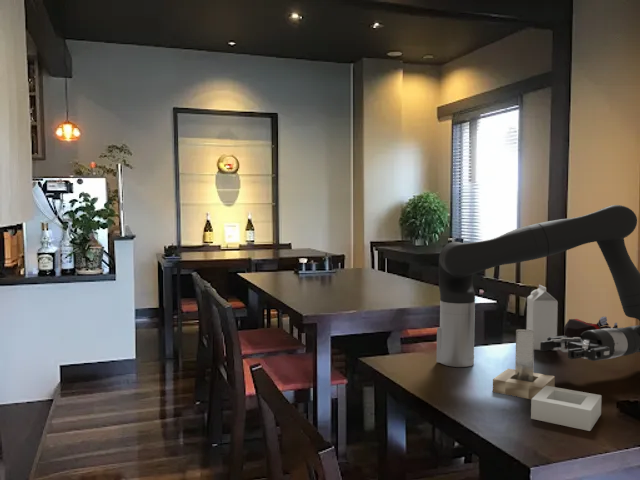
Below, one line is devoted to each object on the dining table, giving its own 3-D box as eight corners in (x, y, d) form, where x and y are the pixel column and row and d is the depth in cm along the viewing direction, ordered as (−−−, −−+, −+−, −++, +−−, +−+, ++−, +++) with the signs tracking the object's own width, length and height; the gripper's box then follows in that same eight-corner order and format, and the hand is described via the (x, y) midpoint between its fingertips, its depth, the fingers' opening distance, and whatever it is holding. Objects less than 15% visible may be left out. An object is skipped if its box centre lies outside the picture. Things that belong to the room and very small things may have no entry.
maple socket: (492, 391, 131) (492, 379, 131) (507, 380, 140) (508, 368, 140) (541, 401, 125) (542, 388, 125) (554, 388, 134) (554, 376, 134)
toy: (616, 307, 172) (562, 308, 177) (619, 332, 165) (563, 332, 171) (615, 332, 179) (564, 332, 185) (619, 357, 172) (565, 356, 178)
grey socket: (530, 418, 115) (531, 399, 114) (545, 403, 124) (545, 385, 123) (590, 431, 108) (590, 410, 108) (600, 414, 117) (601, 395, 117)
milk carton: (549, 345, 177) (551, 284, 176) (556, 350, 170) (558, 287, 169) (526, 344, 178) (527, 284, 177) (532, 350, 171) (533, 287, 169)
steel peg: (512, 390, 132) (513, 331, 131) (517, 386, 135) (519, 328, 135) (530, 394, 130) (531, 333, 129) (535, 389, 133) (536, 330, 132)
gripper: (580, 323, 149) (533, 329, 142) (629, 335, 136) (579, 341, 129) (579, 352, 149) (532, 358, 143) (628, 365, 136) (578, 373, 130)
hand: (555, 350), depth 136 cm, fingers open, 8 cm apart
